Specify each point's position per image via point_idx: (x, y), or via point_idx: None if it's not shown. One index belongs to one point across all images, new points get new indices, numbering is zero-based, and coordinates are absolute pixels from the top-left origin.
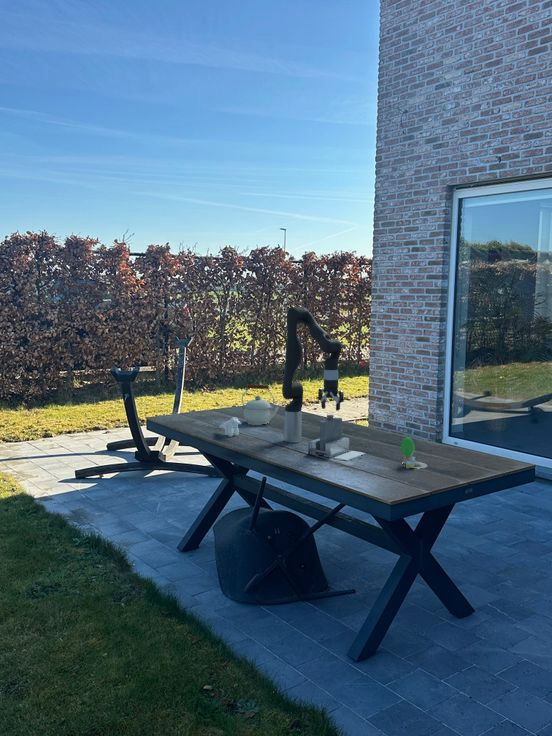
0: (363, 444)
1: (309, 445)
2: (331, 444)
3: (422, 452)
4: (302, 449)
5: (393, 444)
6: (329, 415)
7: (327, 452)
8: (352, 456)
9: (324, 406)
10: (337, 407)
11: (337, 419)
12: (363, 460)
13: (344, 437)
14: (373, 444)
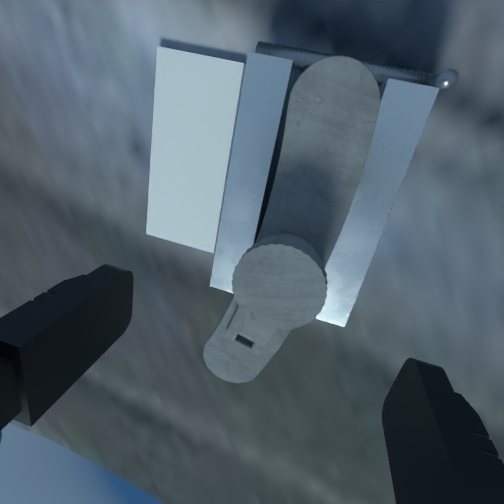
0: (223, 384)
1: (437, 75)
2: (246, 68)
3: None
4: (499, 197)
5: (133, 405)
6: (277, 260)
7: (276, 46)
8: (167, 141)
9: (401, 423)
10: (70, 299)
11: (226, 311)
12: (107, 113)
13: None
14: (190, 391)
